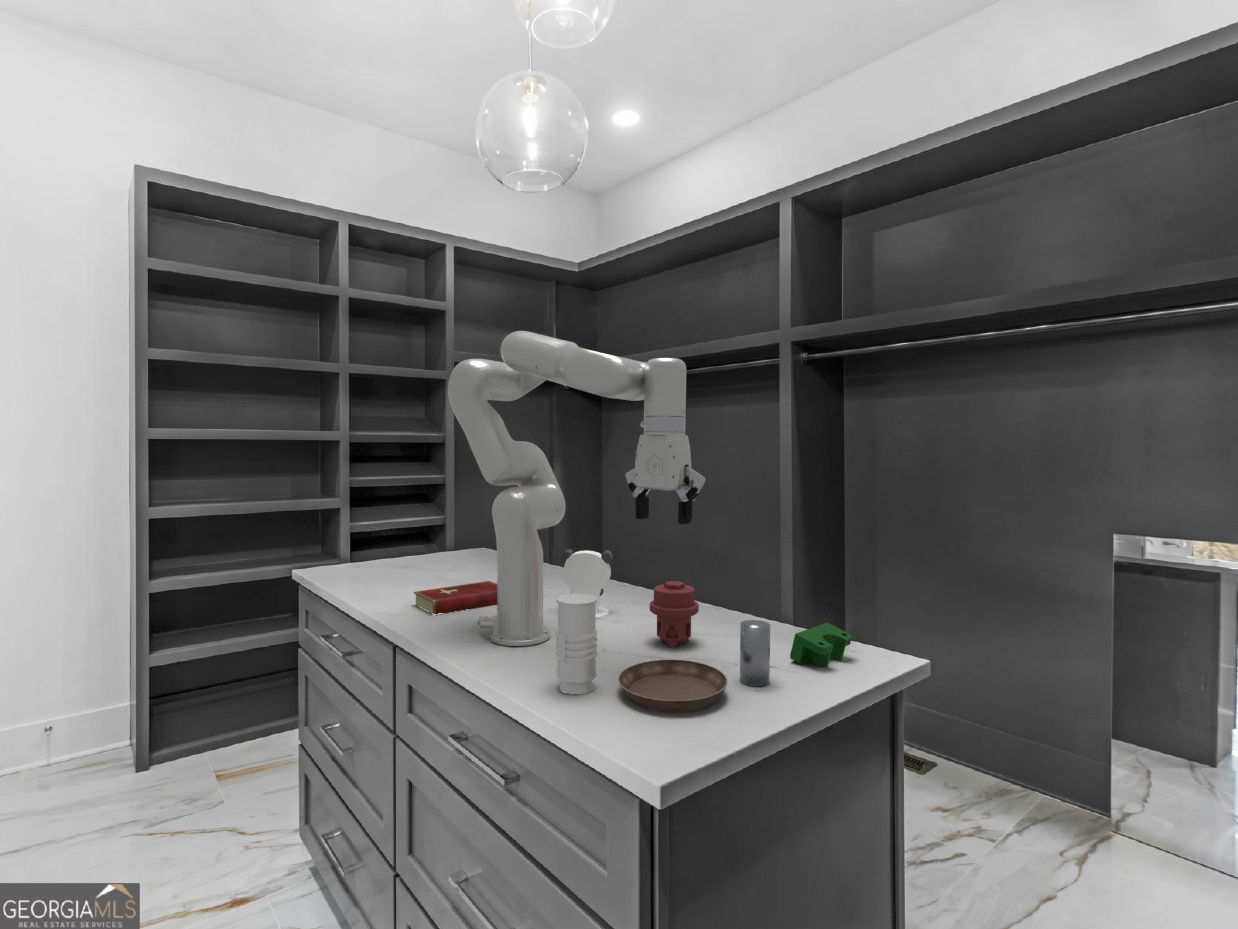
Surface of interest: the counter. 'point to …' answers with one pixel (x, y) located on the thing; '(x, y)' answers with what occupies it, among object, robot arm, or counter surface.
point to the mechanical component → (674, 611)
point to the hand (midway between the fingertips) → (662, 520)
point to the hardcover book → (458, 597)
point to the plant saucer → (673, 685)
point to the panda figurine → (588, 574)
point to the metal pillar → (754, 653)
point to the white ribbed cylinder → (576, 643)
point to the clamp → (820, 644)
